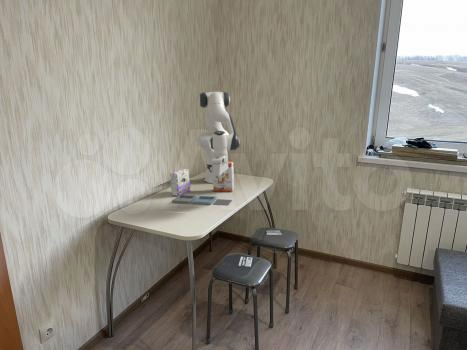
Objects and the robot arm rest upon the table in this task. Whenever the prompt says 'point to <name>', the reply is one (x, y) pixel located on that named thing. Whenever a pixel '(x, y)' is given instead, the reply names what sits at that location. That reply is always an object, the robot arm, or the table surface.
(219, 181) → the letter cube
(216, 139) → the robot arm
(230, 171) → the cracker box
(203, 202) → the slate tray
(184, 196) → the charcoal tray
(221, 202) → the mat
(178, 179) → the candy box
